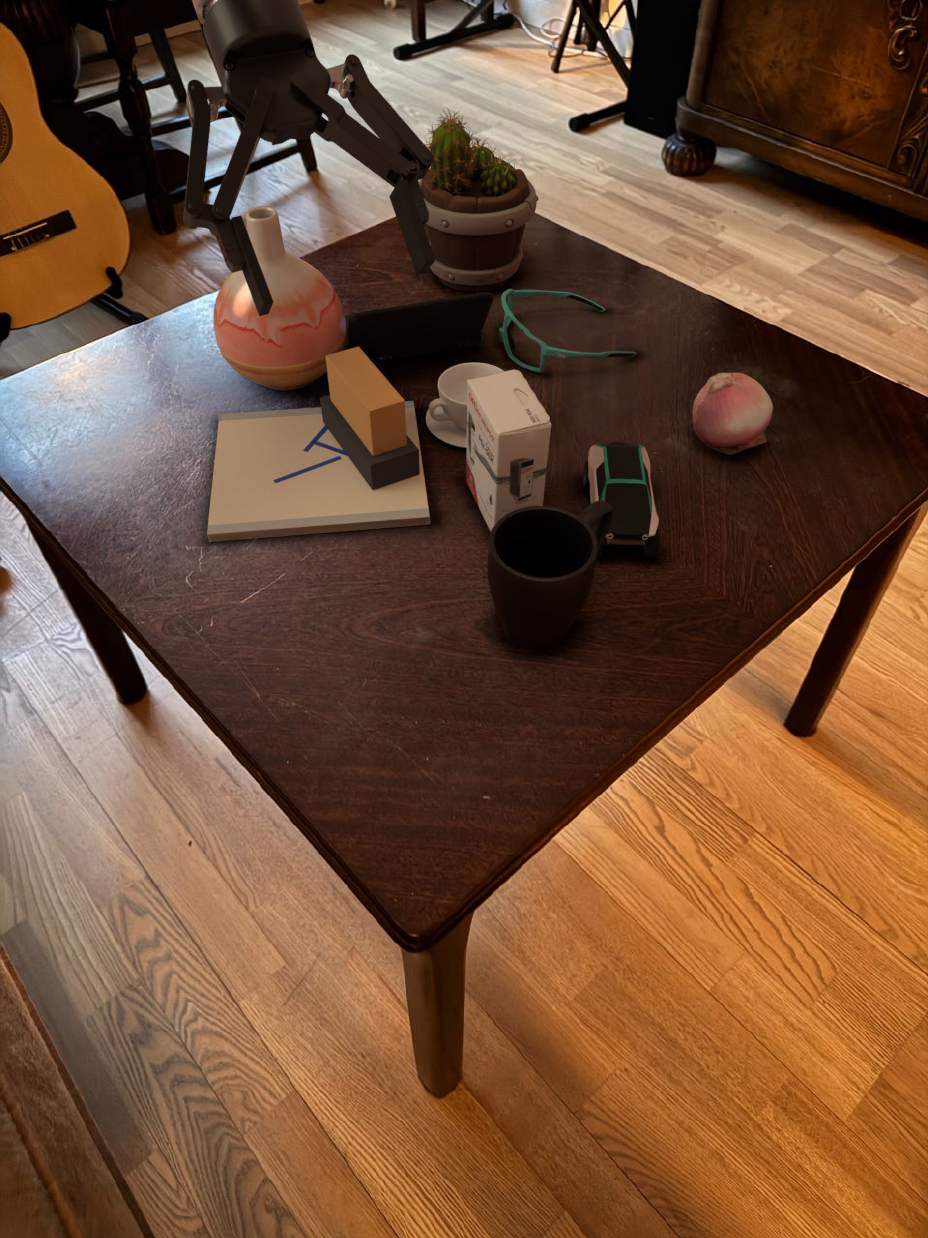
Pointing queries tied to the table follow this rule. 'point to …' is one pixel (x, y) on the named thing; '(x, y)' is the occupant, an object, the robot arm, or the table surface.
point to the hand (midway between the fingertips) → (348, 288)
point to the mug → (544, 569)
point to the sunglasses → (545, 349)
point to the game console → (419, 327)
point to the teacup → (454, 402)
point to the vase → (278, 315)
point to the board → (301, 480)
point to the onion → (732, 413)
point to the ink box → (505, 444)
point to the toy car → (624, 494)
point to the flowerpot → (474, 210)
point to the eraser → (368, 419)
